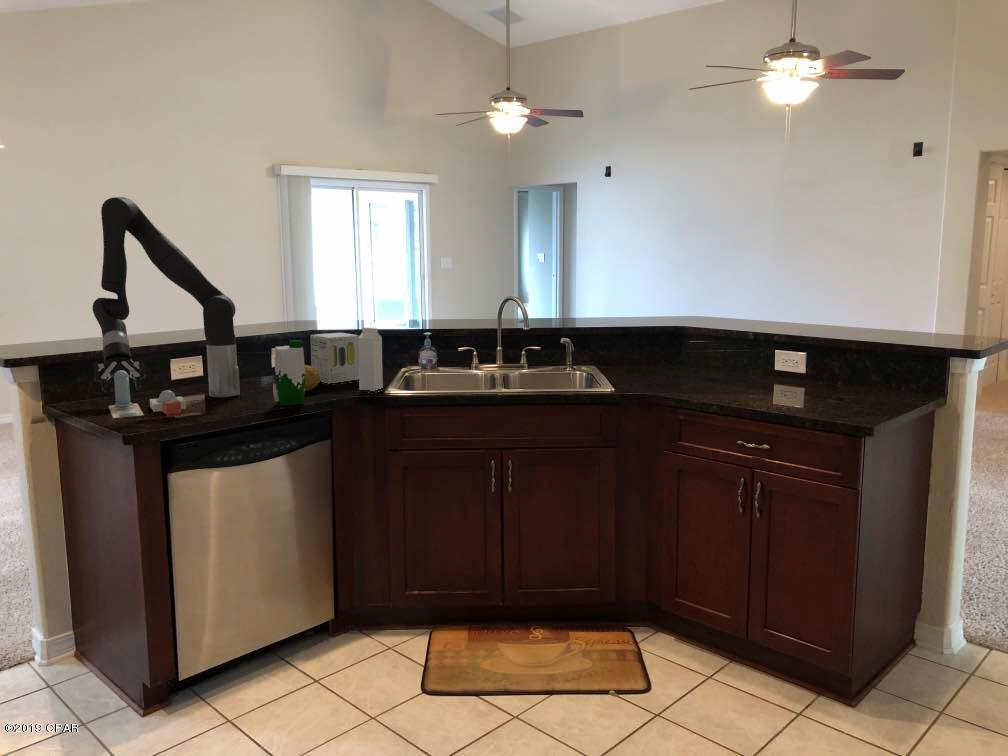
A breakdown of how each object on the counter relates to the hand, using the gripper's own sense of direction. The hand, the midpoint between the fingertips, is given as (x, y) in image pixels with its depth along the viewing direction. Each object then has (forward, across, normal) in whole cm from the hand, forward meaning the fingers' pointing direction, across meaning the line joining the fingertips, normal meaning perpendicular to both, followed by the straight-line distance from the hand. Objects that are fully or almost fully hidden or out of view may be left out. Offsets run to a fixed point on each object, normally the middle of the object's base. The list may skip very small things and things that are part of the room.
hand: (122, 390), depth 231 cm
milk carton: (+15, +47, -6) cm, 50 cm away
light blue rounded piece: (+9, +12, -2) cm, 15 cm away
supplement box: (-9, +73, +18) cm, 76 cm away
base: (+10, +12, -1) cm, 15 cm away
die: (+16, +12, -8) cm, 21 cm away
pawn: (+3, 0, +4) cm, 5 cm away
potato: (+2, +56, +6) cm, 56 cm away
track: (+9, 0, 0) cm, 9 cm away
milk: (+9, +77, -1) cm, 78 cm away
